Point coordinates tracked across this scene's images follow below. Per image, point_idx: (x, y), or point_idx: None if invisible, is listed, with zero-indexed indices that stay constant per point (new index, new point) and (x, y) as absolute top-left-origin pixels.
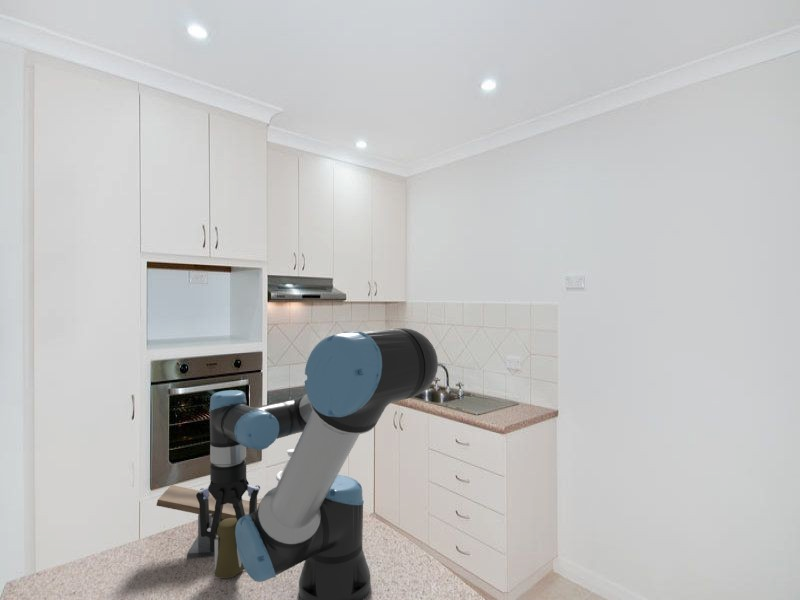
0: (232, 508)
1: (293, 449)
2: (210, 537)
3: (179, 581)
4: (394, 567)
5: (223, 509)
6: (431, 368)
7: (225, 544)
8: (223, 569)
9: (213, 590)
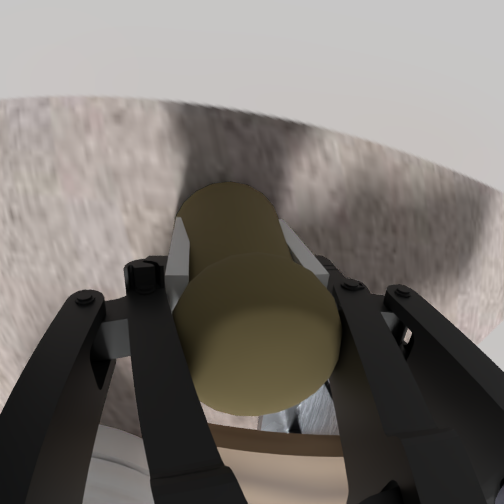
0: (273, 478)
1: None
2: (357, 282)
3: (383, 206)
4: None
5: (310, 470)
6: None
7: (255, 244)
8: (243, 194)
9: (263, 131)
